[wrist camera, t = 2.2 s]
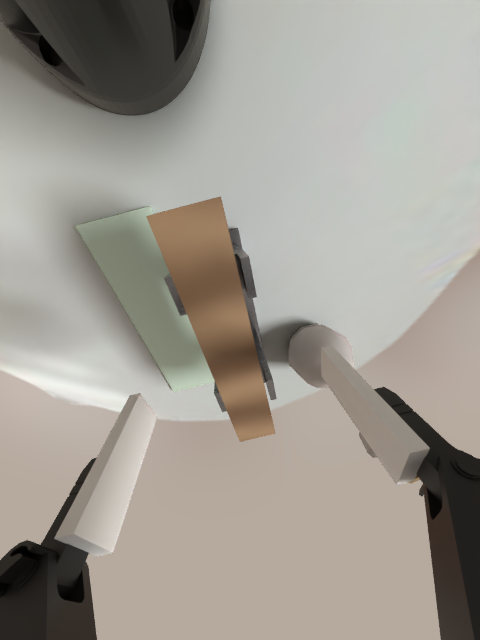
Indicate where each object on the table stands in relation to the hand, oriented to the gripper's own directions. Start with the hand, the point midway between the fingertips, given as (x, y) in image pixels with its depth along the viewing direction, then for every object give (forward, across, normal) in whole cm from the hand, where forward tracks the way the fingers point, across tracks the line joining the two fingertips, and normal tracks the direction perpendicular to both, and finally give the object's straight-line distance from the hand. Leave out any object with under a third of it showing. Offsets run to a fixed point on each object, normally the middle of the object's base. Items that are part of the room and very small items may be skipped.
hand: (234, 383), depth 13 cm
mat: (+14, -9, 0) cm, 16 cm away
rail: (+6, 0, 0) cm, 6 cm away
